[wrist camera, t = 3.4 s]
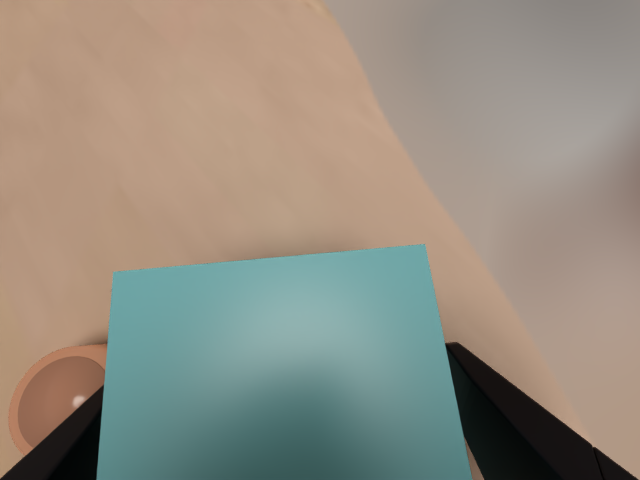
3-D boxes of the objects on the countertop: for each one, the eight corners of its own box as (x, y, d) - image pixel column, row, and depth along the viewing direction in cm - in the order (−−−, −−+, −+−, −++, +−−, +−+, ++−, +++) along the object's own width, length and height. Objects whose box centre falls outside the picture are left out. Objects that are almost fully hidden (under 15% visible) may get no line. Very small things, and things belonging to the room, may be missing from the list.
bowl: (147, 435, 14) (116, 457, 12) (50, 448, 14) (-3, 473, 12) (152, 338, 16) (124, 340, 13) (61, 348, 15) (16, 352, 13)
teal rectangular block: (382, 445, 14) (502, 634, 6) (222, 467, 14) (77, 713, 5) (361, 287, 16) (425, 244, 7) (220, 301, 16) (113, 271, 7)
